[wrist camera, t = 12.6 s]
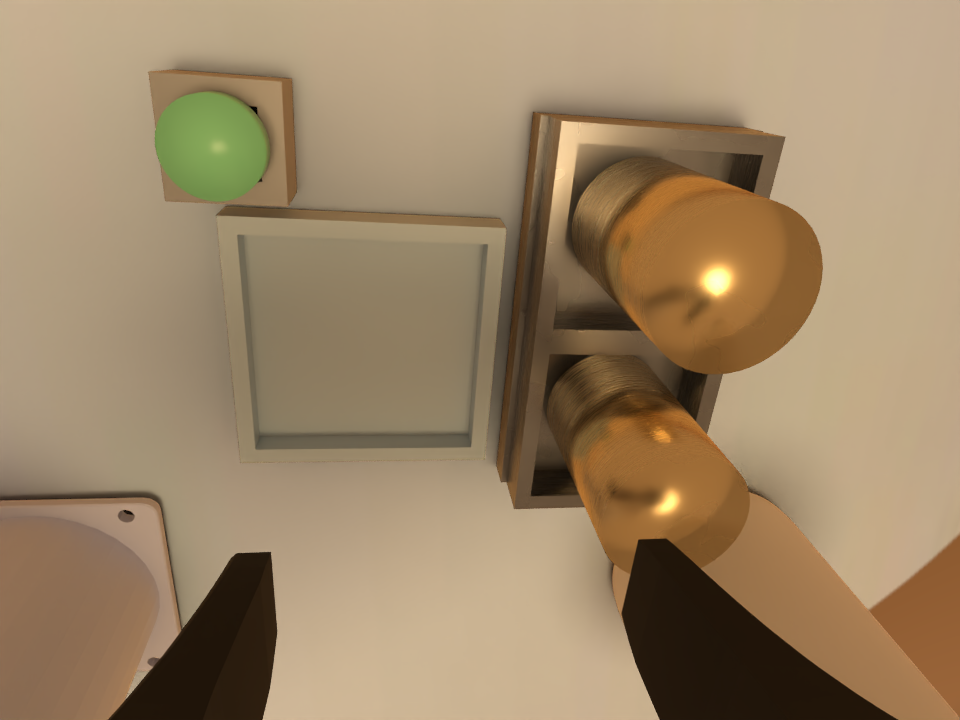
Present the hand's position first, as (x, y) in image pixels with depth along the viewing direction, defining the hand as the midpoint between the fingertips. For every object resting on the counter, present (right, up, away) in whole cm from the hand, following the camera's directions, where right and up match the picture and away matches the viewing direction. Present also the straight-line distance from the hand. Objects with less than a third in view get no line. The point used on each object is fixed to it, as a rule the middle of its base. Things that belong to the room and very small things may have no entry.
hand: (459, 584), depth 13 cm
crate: (+5, +6, +9) cm, 12 cm away
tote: (-3, +5, +8) cm, 10 cm away
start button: (-6, +10, +5) cm, 13 cm away
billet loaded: (+5, +3, +9) cm, 11 cm away
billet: (+5, +8, +7) cm, 12 cm away
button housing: (-6, +11, +5) cm, 13 cm away
